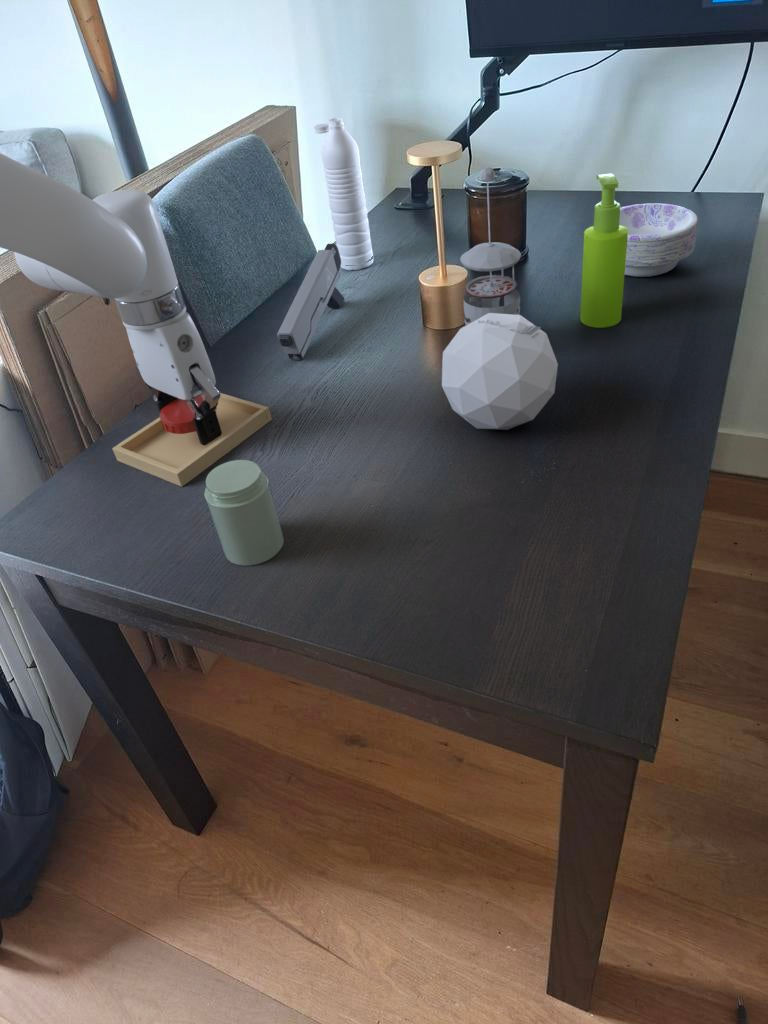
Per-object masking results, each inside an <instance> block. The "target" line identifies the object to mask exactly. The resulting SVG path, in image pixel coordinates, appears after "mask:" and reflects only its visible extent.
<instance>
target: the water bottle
mask: <svg viewBox="0 0 768 1024" xmlns="http://www.w3.org/2000/svg"><path fill="white" fill-rule="evenodd" d="M313 127H314V134H318V135H319V134H320V135H321V134H326V133H327V134H326V137H325V140H324V141H323V144H322V147H321V161H322V164H323V171H324V176H325V182H326V190H327V195H328V202H329V203H328V204H329V208H330V214H331V220H332V227H333V232H334V239H335V245H336V246H337V247H338V250H339V254H340V258H341V266H340V269H342V270H345V271H359V270H363V269H367V268H369V267H370V266H371V265H372V264H373V263H374V258H373V259H372V260H371V261H369V262H367V263H365V264H361V263H364V262H366V261H368V260H369V259H371V257H372V256H373V257H374V252H373V248H372V247H373V246H372V238H371V230H370V224H369V222H370V221H369V217H368V208H367V206H366V205H367V201H366V195H365V188H364V179H363V172H362V164H361V157H360V148H359V146H358V143H357V142H356V140H355V139H354V138H353V136H352V135H351V134H350V133H349V131H348V130H347V129H346V127H345V123H344V121H343V118H342V117H334V118H331V119H328V123H320V124H319V123H318V124H316V125H314V126H313ZM358 264H361V265H358ZM345 265H356V266H345Z"/></svg>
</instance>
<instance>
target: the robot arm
mask: <svg viewBox="0 0 768 1024" xmlns="http://www.w3.org/2000/svg"><path fill="white" fill-rule="evenodd" d="M0 248H1V249H4V250H7V251H10V252H13V254H14V258H15V262H16V265H17V266H18V268H19V269H20V272H21V273H22V274H23V275H24V276H25V277H26V278H27V279H28V280H30V281H31V282H32V283H34V284H35V285H38V286H40V287H42V288H45V289H49V290H54V291H59V292H66V293H73V294H80V295H86V296H91V297H97V298H102V299H109V300H110V299H111V300H113V301H114V302H115V305H116V308H117V311H118V314H119V317H120V320H121V321H122V325H123V326H124V327H125V329H126V334H127V338H128V342H129V344H130V348H131V351H132V354H133V357H134V360H135V363H136V365H135V368H136V370H137V371H138V373H139V374H140V375H141V377H142V380H143V381H144V383H145V386H147V387H148V388H149V390H150V392H151V398H152V399H153V401H155V402H156V403H155V404H156V406H157V409H158V412H159V413H160V412H161V410H162V409H163V408H164V407H165V406H166V405H167V404H169V403H171V402H172V401H174V400H176V399H183V400H185V401H186V403H187V404H188V406H189V408H190V409H191V411H192V413H193V414H194V416H195V418H193V419H192V420H193V423H194V426H195V429H196V432H197V435H198V438H199V441H200V443H201V444H202V445H204V446H205V445H207V444H208V443H210V442H212V441H213V440H215V439H216V438H218V437H219V436H221V434H222V431H221V428H220V425H219V421H218V418H217V415H216V412H215V410H217V407H216V406H217V405H218V401H219V398H220V396H221V395H220V393H221V392H220V391H219V390H218V388H217V387H216V384H217V380H216V376H215V372H214V370H213V367H212V364H211V361H210V358H209V355H208V353H207V350H206V348H205V344H204V343H203V340H202V337H201V335H200V333H199V330H198V329H197V326H196V325H195V323H194V320H193V319H192V317H191V315H190V313H189V312H187V306H186V303H185V300H184V297H183V293H182V290H181V287H180V283H179V280H178V277H177V274H176V271H175V266H174V264H173V261H172V257H171V254H170V251H169V247H168V243H167V241H166V238H165V234H164V231H163V228H162V225H161V222H160V218H159V215H158V211H157V208H156V206H155V203H154V201H153V199H152V197H151V196H150V195H149V194H148V193H147V192H145V191H143V190H140V189H132V188H131V189H118V190H114V191H110V192H106V193H103V194H100V195H98V196H96V197H94V198H90V197H88V196H86V195H85V194H84V193H82V192H80V191H78V190H77V189H75V188H73V187H71V186H70V185H68V184H65V183H63V182H62V181H60V180H58V179H56V178H54V177H51V176H49V175H48V174H46V173H43V172H41V171H38V170H36V169H35V168H32V167H30V166H28V165H25V164H24V163H21V162H19V161H18V160H15V159H14V158H11V157H9V156H7V155H5V154H3V153H1V152H0ZM194 387H197V390H195V391H193V388H194ZM199 395H201V397H202V398H203V400H204V401H203V402H202V403H201V405H200V406H199V407H198V406H197V404H196V402H195V400H194V398H196V397H198V396H199Z"/></svg>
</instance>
